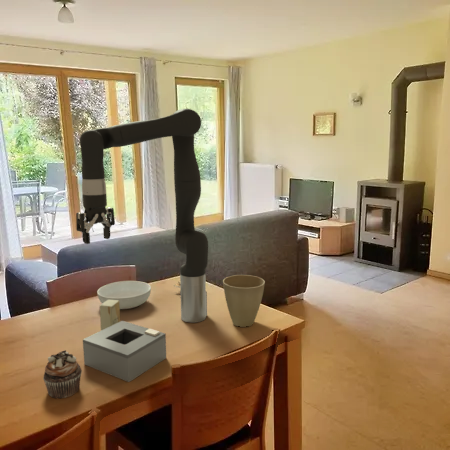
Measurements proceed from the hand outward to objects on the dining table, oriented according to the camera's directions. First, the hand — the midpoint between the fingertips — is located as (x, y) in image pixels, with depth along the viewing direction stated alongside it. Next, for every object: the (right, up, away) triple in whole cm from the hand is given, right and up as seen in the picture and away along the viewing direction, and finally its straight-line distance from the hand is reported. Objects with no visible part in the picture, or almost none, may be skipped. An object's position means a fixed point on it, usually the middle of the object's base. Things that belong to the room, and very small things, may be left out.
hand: (97, 241), depth 148 cm
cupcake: (-1, -39, -29) cm, 49 cm away
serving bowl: (+2, -27, +30) cm, 41 cm away
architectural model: (+25, -25, +44) cm, 57 cm away
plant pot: (+49, -30, +13) cm, 59 cm away
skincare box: (+4, -33, +2) cm, 33 cm away
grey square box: (+13, -36, -14) cm, 40 cm away
